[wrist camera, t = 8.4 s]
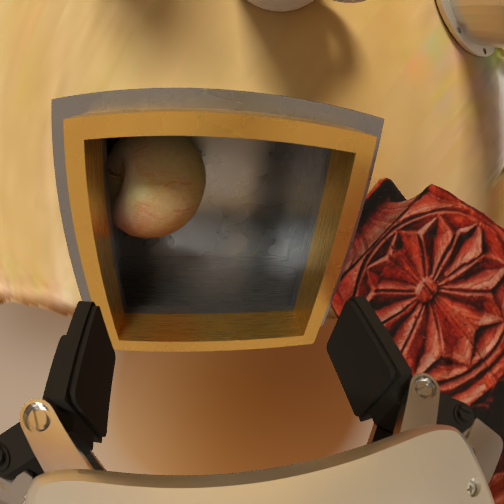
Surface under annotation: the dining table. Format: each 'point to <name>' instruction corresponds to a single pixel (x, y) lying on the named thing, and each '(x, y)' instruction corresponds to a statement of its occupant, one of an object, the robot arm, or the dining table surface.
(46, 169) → the dining table surface
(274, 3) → the cup
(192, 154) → the fruit
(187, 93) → the box
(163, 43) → the dining table surface
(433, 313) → the vase
